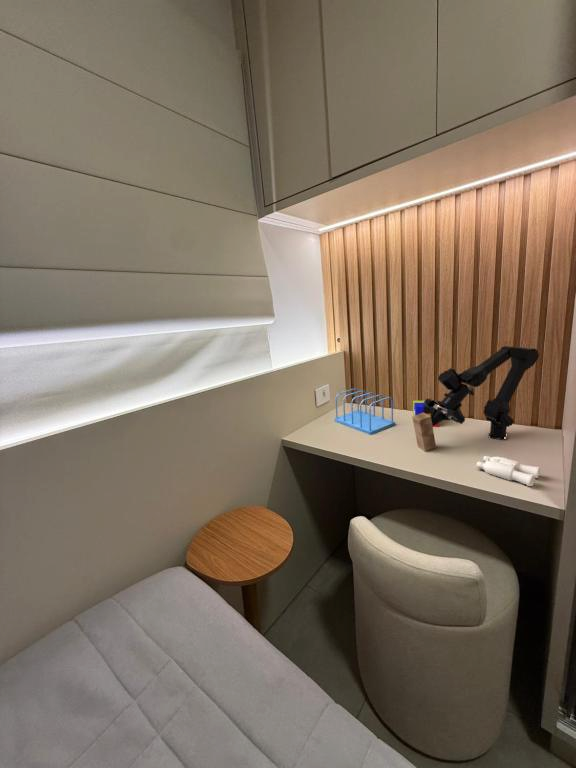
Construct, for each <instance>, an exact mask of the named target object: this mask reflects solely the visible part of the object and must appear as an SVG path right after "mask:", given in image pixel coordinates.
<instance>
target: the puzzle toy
mask: <svg viewBox="0 0 576 768" xmlns="http://www.w3.org/2000/svg"><path fill="white" fill-rule="evenodd" d="M424 401H425V400H413V404H412V408H413V409H412V416H415V415H418V414H420V413H425V414H427V415H429V416H430V415H431V409H430V408H429V407H428V406H427V405H426V404H425V403H424ZM434 401H435V402H437V401H436V400H434ZM439 424H440V422H439V423H437V424H436V425H434V426H433V428H439Z"/></svg>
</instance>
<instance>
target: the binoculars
mask: <svg viewBox="0 0 576 768" xmlns="http://www.w3.org/2000/svg"><path fill="white" fill-rule="evenodd" d="M476 468H478V469H480V470H484V471H485V472H486V473H487V474H488V473H489V474H488V475H490V474H492V475H491V476H493V475H495V476H494V477H496V476H498V477H497V478H499V477H501V478H500V479H502V478H505V479H508V480H507V481H509V480H511V481H512V480H513V481H517V482H519V483H521V484H524V485H525V484H526V486H527V487H528V486H530V485H531V484H532V482H533V483H534V484H535V480H536V479H535V478H537V476H538V474H539V475H540V471H541V467H540V466H533V465H532V466H531V465H527V464H522V463H520V462H519V461H517V460H515V459H510V458H506V457H502V456H492V457H491V456H488V455H484V456H483V459H482V461H480V460H479V461H477V463H476ZM505 479H504V480H505Z"/></svg>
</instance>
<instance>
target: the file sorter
mask: <svg viewBox="0 0 576 768" xmlns="http://www.w3.org/2000/svg"><path fill="white" fill-rule="evenodd" d="M352 391H356V392H352ZM347 392H352V393H349V394H345V395H344V397H343V401H342V404H343V405H342V407H343V408H342V409H343V415H340V416H338V396H339V395H341V394H343V393H347ZM361 392H363V393H364V394H361V395H359V393H361ZM355 394H356V396H355V397H353V398H352V400H351V403H350V405H351V406H350V408H351V409H350V411H351V412H349V413H346V406H345V400H346V398H347V397H349V396H352V395H355ZM367 395H372V396H370V397H367ZM361 397H364V399H362V400H361V402H360V401H359V398H361ZM377 397H381V399H379V400H376V401H375V398H377ZM355 399H357V401H356V402H357V410H355V411H353V409H354V408H353V405H354V404H353V402H354V400H355ZM371 399H372V400H373V402H372V403H370V405H369V408H368V411H367V401H368V400H371ZM388 399H389V400H390V401H391V419H387V418H384V417H385V416H384V415H385V414H384V401H385V400H388ZM359 402H360V404H359ZM363 402H364V403H365V404H364V405H365V406H364V408H365V409H364V411H362V404H363ZM379 402H381V409H382V410H381V412H382V414H381V416H377V415H376V411H375V410H376V408H375V407H376V403H379ZM372 406H373V407H372ZM371 408H373V410H372V409H371ZM371 411H373V414H371ZM335 414H336V417H335V418H334V422H337V423H339V424H341V425H344V426H347V427H349V428H352V429H354V430H357V431H359V432H361V433H365V434H367V435H370V436H372V435H373V434H377V433H378V432H381V431H384V430H385V429H388V428H391V427H394V426H395V425H396V422H395V421H394V400H393V397H391V396H389V397H388V396H387V397H385V398H384V396H383V395H382V394H377V395H375V393H374V392H368V393H367V392H366V390H358V389H357V388H351V389H348V390H344V391H341V392H338V393H337V394H336V396H335Z"/></svg>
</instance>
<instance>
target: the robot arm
mask: <svg viewBox="0 0 576 768" xmlns="http://www.w3.org/2000/svg"><path fill="white" fill-rule="evenodd" d="M539 358H540V354H539V351H538V349H536V348H531V347H523V346H519V347H515V346H509V345H504V346H502V347H501V348H500V349H499V350H498V351H496V352H495V353H494V354H492V355H491V356H490V357H488V358H486V359H485V360H484V361H483V362H481V363H479V365H475V366H472V367H470V368H468V369H465V370H464V371H462V372H461V373H457V371H456V370H455V368H449V369H448V370H445V371H443V372H442V373H440V374H439V375H438V378H437V379H438V382H440V384H441V385H443V386H444V387H445V388H446V389H447V390H448V391H449V392H448V393H446V392H445V393H444V394H443V395H444V397H443V399H442V400H438V401H436V400H434V399H432V398H429V397H428V398H426V399H425V400H423V401H424V403H425V404H426V405H427V406H428V407H429V408H430V409H431V415H430V416H431V420H432V426H434V425H436V424H437V423H439V424H440V423H441V422H443V421H454V422H455V423H457V424H460V425H462V424H463V423H464V422H465V420H466V417H465V416H464V414H463V412H462V410H461V407H462V406H463V404H462V402H463V400H464V399H465V398H467V396H469V395H470V396H472V397H473V396H475V392H474V387H475V388H478V387H480V386H481V385H483V383H484V382H485V381H486V380H487V378H488V375H490V374H491V373H493V372H494V371H495V370H497V368H499V367H500V366H502V365H503V364H504V363H505V362H507V361H508V360H510V364H511V366H510V369H509V370H508V373H507V375H506V376H505V379H504V381H503V382H502V384H501V386H500V388H499V390H498V392H497V395H496V397H494V399H492V400H491V399H487V401H486V403H485V405H484V407H483V414H484V416H485V419H486V421H487V422H490V428H489V431H490V433H488V436H487V437H488V438H489V436H490V437H493V438H492V439H495V438H500V439H499V440H502V439H504V437H506V434H507V427H510V426H512V425H513V424H514V422H515V421H514V419H513V418H512V417H511V416H510V411H511V408H510V402H511V400H512V398H513V396H514V394H515V392H516V390H517V389H518V386H519V384H520V382H521V380H522V378H523V377H524V375H525V373H526V371H527V370H529V369H530V368H532V367H533V366H534V365H535V363H536V362H537V361H538V359H539ZM469 386H470V387H469ZM472 387H473V388H472ZM435 401H436V402H435Z"/></svg>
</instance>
